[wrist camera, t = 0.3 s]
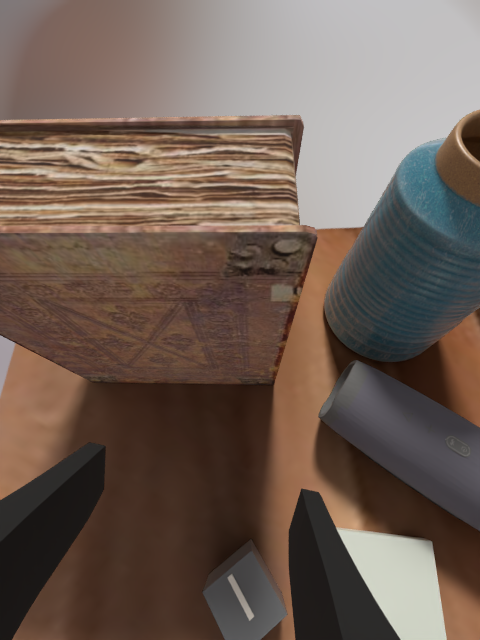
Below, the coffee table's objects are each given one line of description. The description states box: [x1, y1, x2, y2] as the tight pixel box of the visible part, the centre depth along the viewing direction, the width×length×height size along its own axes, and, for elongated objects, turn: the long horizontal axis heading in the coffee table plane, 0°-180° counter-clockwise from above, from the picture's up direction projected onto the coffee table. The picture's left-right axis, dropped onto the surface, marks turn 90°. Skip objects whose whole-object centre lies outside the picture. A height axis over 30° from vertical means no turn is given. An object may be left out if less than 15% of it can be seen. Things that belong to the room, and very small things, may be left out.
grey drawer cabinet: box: [202, 539, 287, 640], centre depth 29 cm, size 6×6×5 cm
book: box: [0, 115, 317, 385], centre depth 30 cm, size 25×9×30 cm, turn 89°
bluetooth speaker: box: [318, 360, 480, 531], centre depth 32 cm, size 23×9×10 cm, turn 55°
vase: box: [324, 110, 480, 362], centre depth 33 cm, size 16×16×27 cm
